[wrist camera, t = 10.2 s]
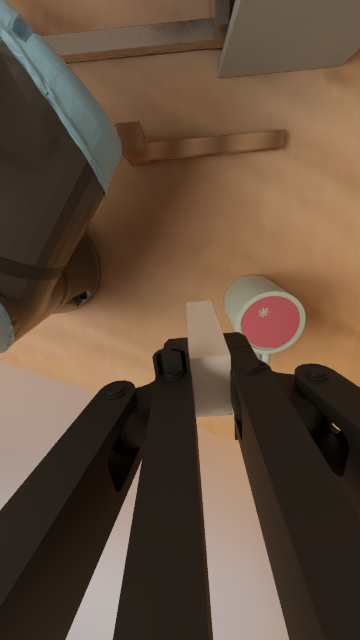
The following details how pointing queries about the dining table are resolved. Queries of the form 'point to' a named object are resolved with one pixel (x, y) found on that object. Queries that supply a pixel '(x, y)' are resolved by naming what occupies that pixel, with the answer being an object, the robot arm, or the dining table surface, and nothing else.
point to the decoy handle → (192, 144)
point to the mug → (264, 314)
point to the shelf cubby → (289, 36)
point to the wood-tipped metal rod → (145, 38)
